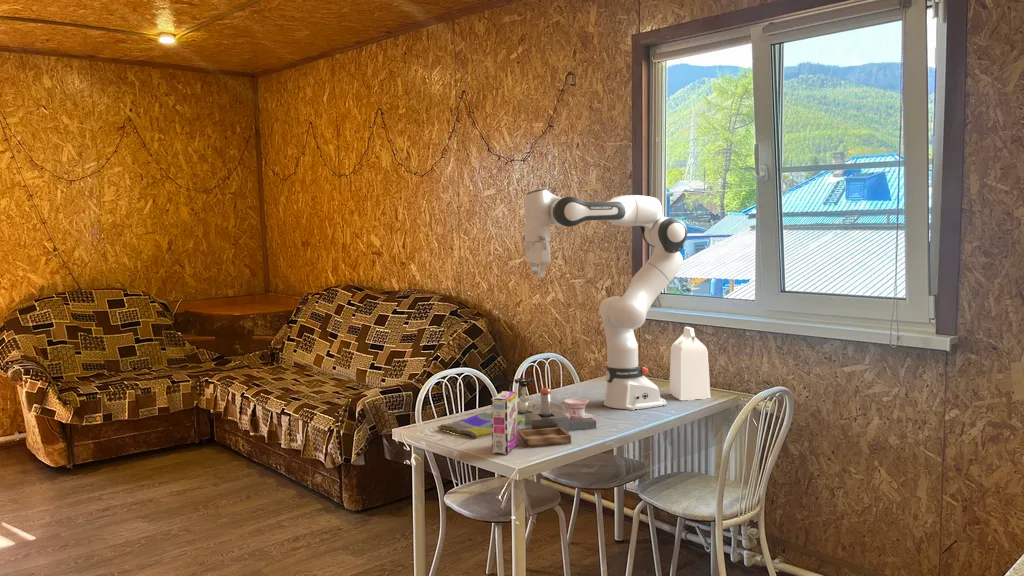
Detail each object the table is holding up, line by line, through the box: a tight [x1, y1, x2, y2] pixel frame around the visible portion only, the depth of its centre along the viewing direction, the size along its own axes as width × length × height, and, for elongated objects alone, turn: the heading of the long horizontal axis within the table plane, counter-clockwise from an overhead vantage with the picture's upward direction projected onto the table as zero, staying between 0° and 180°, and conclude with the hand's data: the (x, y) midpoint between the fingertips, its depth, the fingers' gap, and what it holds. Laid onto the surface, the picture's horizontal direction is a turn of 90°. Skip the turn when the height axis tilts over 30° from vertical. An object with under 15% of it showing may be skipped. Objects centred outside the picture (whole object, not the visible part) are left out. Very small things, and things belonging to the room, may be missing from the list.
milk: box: [668, 326, 712, 401], centre depth 289 cm, size 12×12×26 cm
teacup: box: [561, 397, 595, 420], centre depth 262 cm, size 12×12×6 cm
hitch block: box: [524, 410, 597, 434], centre depth 249 cm, size 22×9×5 cm, turn 103°
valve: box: [513, 377, 535, 414], centre depth 271 cm, size 7×7×12 cm
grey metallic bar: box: [540, 387, 552, 418], centre depth 247 cm, size 3×3×14 cm
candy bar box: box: [491, 390, 519, 456], centre depth 228 cm, size 11×5×16 cm, turn 163°
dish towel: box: [437, 411, 523, 440], centre depth 254 cm, size 18×24×3 cm
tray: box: [518, 427, 572, 448], centre depth 235 cm, size 14×10×2 cm
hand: (538, 276), depth 269 cm, fingers open, 8 cm apart
